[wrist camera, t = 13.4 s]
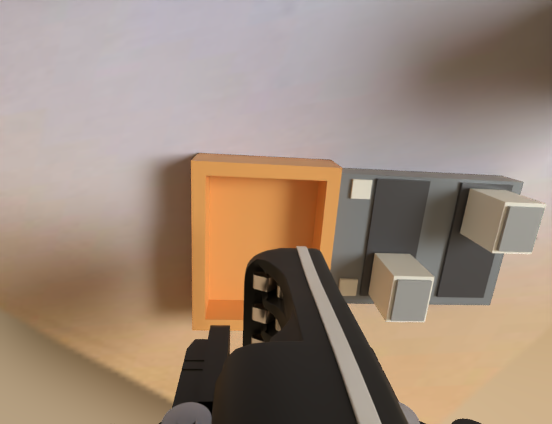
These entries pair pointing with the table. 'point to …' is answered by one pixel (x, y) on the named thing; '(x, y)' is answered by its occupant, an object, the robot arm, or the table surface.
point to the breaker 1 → (400, 287)
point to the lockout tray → (253, 222)
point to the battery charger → (300, 351)
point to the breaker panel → (413, 232)
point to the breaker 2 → (502, 220)
